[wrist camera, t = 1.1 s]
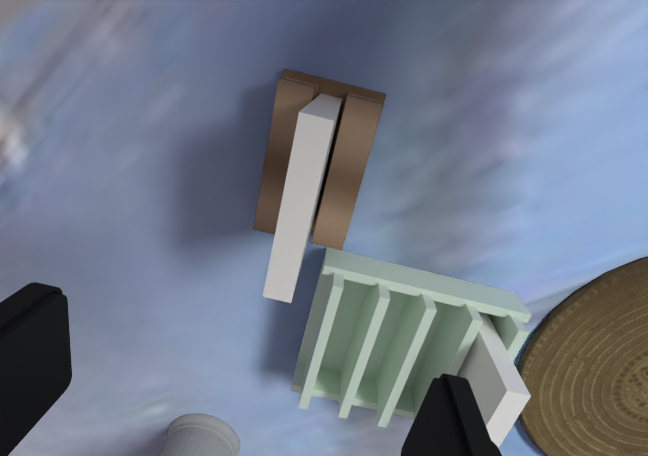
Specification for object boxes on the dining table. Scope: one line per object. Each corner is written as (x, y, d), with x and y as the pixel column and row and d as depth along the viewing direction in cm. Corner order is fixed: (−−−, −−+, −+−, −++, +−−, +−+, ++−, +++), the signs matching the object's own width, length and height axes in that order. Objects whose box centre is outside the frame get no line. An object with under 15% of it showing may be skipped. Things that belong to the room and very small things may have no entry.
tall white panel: (321, 93, 28) (299, 111, 17) (342, 98, 28) (334, 120, 17) (294, 216, 32) (262, 296, 21) (313, 220, 32) (291, 303, 21)
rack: (327, 243, 33) (316, 320, 23) (512, 288, 34) (579, 383, 24) (297, 359, 39) (276, 463, 29) (455, 397, 39) (490, 512, 29)
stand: (285, 68, 28) (275, 69, 24) (385, 94, 28) (389, 98, 24) (260, 214, 33) (248, 233, 29) (345, 235, 33) (343, 257, 29)
